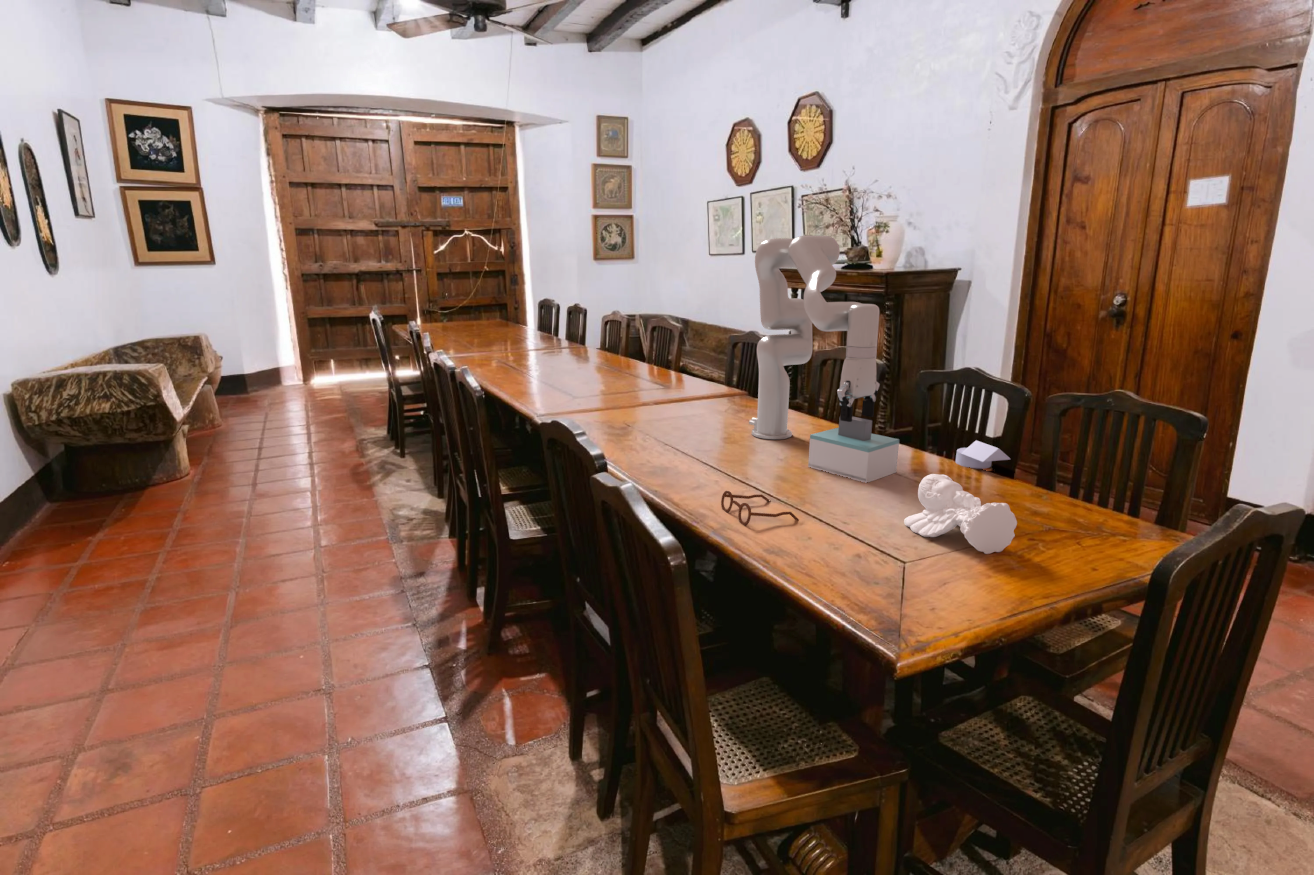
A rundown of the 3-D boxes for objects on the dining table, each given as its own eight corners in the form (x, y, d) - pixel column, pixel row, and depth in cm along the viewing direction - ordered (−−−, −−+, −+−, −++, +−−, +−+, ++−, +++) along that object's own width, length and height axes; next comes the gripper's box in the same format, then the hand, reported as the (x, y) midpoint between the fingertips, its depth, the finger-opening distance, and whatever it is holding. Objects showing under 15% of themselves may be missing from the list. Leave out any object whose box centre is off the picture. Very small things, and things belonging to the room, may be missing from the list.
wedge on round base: (1009, 471, 189) (975, 458, 201) (1012, 447, 187) (978, 435, 199) (981, 474, 186) (948, 460, 198) (984, 449, 185) (951, 437, 197)
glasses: (719, 509, 161) (720, 488, 160) (770, 502, 165) (771, 482, 164) (746, 530, 149) (747, 507, 148) (800, 522, 153) (801, 500, 152)
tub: (808, 466, 191) (809, 438, 189) (839, 457, 200) (841, 430, 198) (865, 483, 178) (868, 452, 176) (896, 472, 187) (899, 443, 185)
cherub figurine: (964, 509, 130) (901, 467, 148) (954, 568, 135) (893, 520, 153) (1023, 501, 134) (954, 461, 152) (1011, 558, 138) (945, 513, 156)
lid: (809, 438, 189) (811, 416, 188) (841, 430, 198) (842, 409, 197) (868, 452, 176) (870, 429, 175) (899, 443, 185) (901, 420, 183)
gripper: (867, 349, 189) (863, 411, 193) (828, 354, 178) (825, 420, 182) (892, 351, 184) (888, 416, 188) (854, 357, 173) (849, 425, 177)
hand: (856, 418), depth 185 cm, fingers open, 9 cm apart
